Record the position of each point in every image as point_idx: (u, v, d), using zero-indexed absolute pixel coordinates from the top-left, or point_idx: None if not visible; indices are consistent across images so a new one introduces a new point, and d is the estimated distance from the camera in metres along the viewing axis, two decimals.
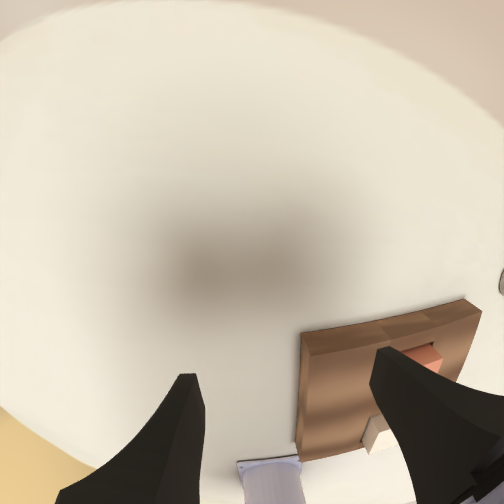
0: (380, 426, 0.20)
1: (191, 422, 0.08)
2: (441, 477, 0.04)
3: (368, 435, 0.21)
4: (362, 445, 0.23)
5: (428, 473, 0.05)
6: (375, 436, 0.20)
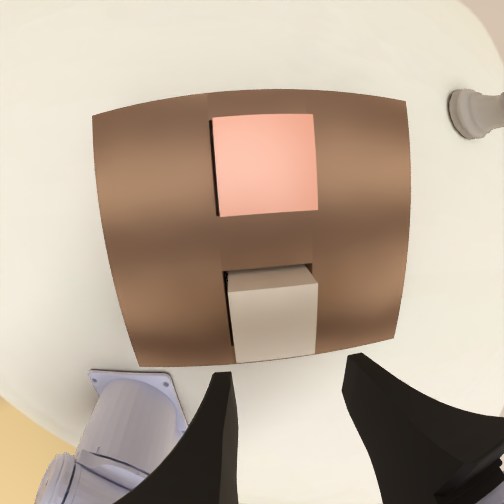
0: (236, 286, 0.14)
1: (231, 421, 0.08)
2: (407, 495, 0.04)
3: None
4: None
5: (395, 488, 0.05)
6: (230, 309, 0.14)
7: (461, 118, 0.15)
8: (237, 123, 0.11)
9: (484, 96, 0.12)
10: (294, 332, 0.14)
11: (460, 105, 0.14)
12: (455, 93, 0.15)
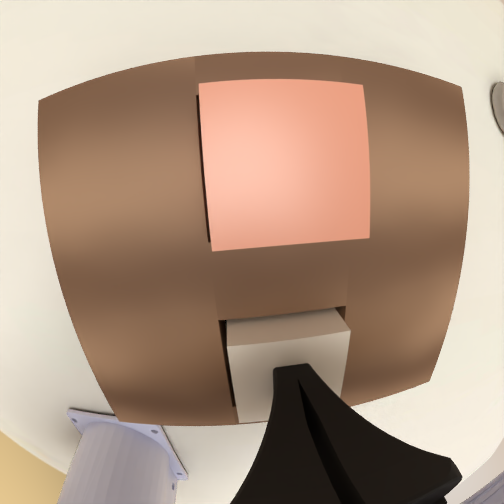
0: (238, 335, 0.10)
1: None
2: None
3: None
4: None
5: None
6: None
7: None
8: (241, 92, 0.06)
9: None
10: None
11: None
12: (498, 86, 0.10)
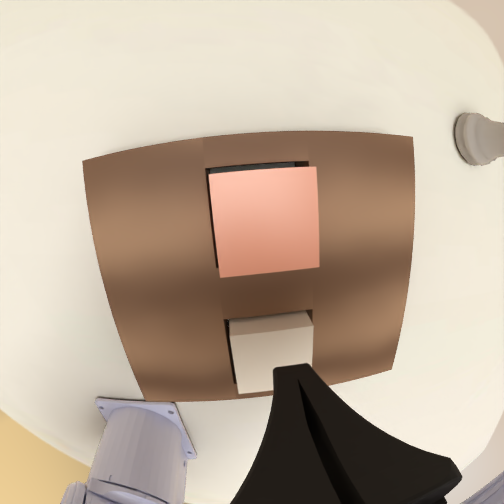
0: (237, 328, 0.14)
1: None
2: None
3: None
4: None
5: None
6: (232, 349, 0.14)
7: (467, 146, 0.15)
8: (235, 180, 0.11)
9: (492, 123, 0.12)
10: None
11: (466, 132, 0.14)
12: (462, 118, 0.15)
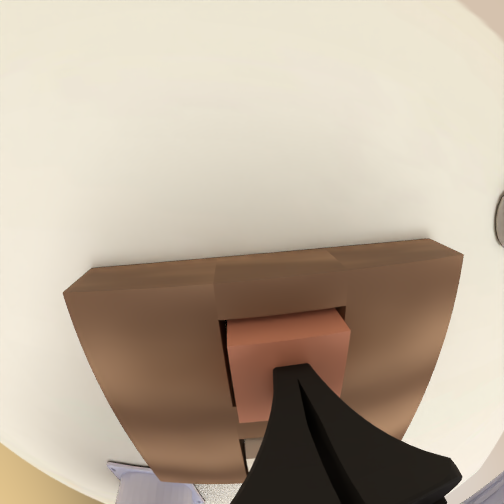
0: (253, 449, 0.12)
1: None
2: None
3: None
4: None
5: None
6: None
7: None
8: (258, 351, 0.09)
9: None
10: None
11: None
12: None
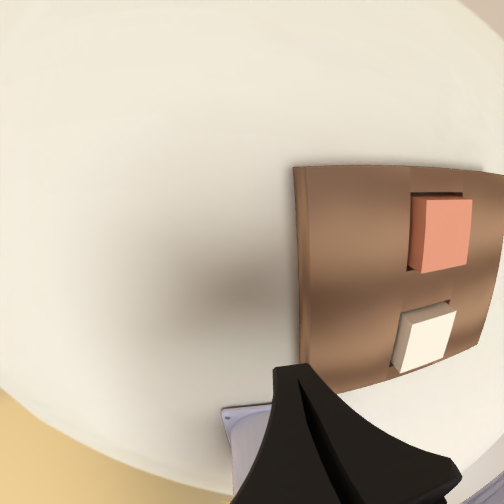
0: (412, 318, 0.16)
1: None
2: None
3: (396, 341, 0.18)
4: (392, 373, 0.18)
5: None
6: (407, 336, 0.16)
7: None
8: (439, 206, 0.13)
9: None
10: (437, 345, 0.16)
11: None
12: None
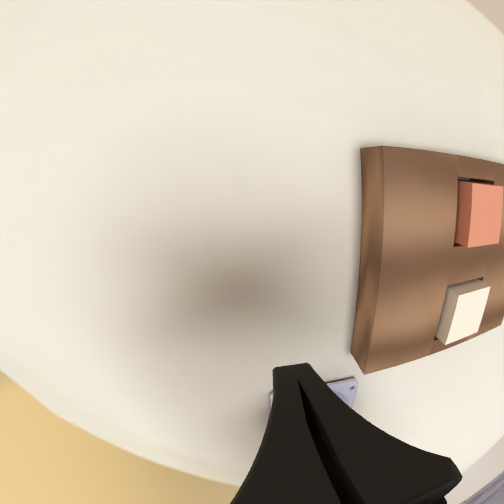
0: (457, 291, 0.16)
1: None
2: None
3: (441, 315, 0.18)
4: (435, 347, 0.19)
5: None
6: (453, 307, 0.16)
7: None
8: (480, 189, 0.13)
9: None
10: (474, 318, 0.17)
11: None
12: None
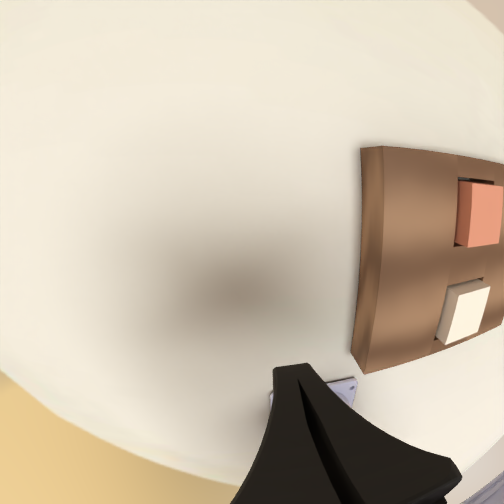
0: (457, 291, 0.16)
1: None
2: None
3: (441, 315, 0.18)
4: (435, 347, 0.19)
5: None
6: (453, 307, 0.16)
7: None
8: (480, 189, 0.13)
9: None
10: (474, 318, 0.17)
11: None
12: None
